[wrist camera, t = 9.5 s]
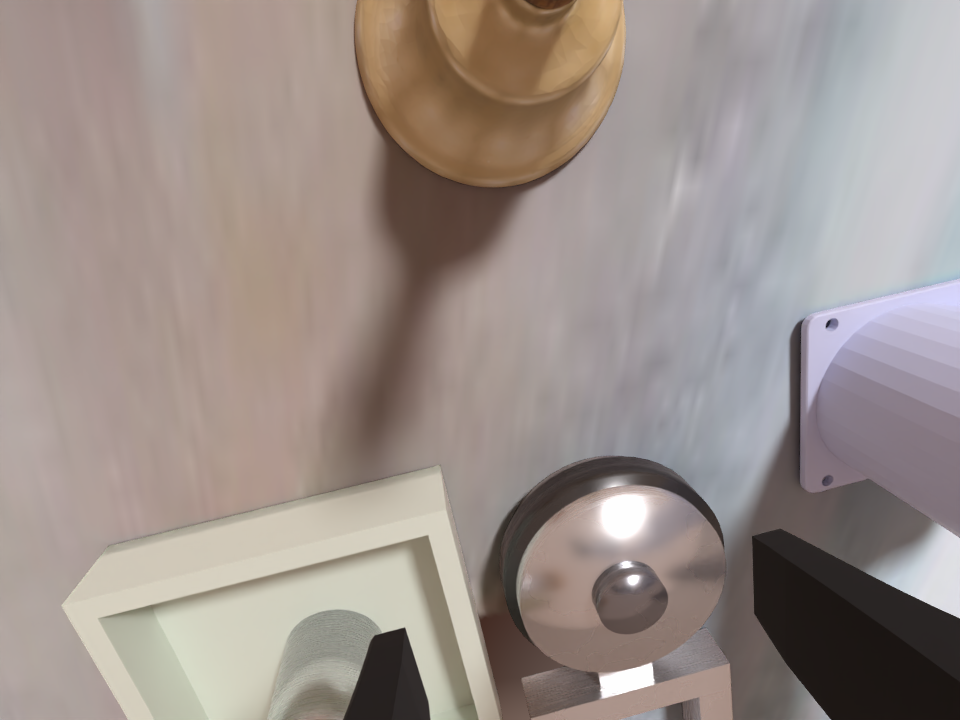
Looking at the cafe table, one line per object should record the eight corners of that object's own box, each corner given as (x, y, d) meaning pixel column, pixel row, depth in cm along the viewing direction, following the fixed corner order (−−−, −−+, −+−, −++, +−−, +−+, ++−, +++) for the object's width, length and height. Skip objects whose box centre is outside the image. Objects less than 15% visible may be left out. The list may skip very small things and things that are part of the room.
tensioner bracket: (692, 423, 22) (748, 471, 19) (714, 756, 29) (758, 838, 25) (474, 477, 22) (489, 537, 18) (549, 804, 28) (571, 895, 25)
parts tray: (440, 465, 21) (446, 509, 18) (498, 697, 25) (511, 762, 23) (108, 545, 20) (61, 605, 18) (226, 771, 25) (204, 849, 22)
